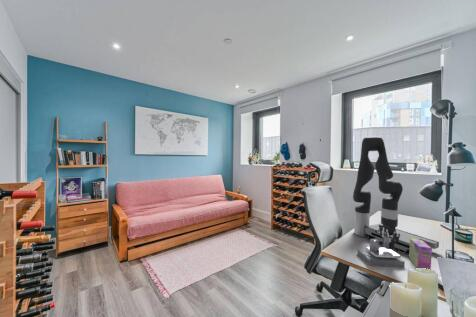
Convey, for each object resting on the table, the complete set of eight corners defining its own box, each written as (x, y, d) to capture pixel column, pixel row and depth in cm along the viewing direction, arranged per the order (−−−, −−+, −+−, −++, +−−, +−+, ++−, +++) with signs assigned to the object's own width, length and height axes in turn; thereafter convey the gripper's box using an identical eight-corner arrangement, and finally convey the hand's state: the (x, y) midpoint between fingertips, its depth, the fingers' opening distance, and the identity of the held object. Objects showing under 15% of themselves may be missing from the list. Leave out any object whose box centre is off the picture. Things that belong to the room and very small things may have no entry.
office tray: (421, 260, 113) (422, 246, 112) (364, 238, 142) (365, 227, 141) (438, 253, 122) (438, 240, 121) (381, 233, 150) (382, 223, 150)
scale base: (357, 254, 118) (357, 248, 118) (388, 255, 117) (388, 249, 117) (369, 265, 106) (369, 259, 106) (404, 267, 105) (404, 260, 105)
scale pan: (365, 249, 117) (366, 247, 117) (388, 249, 116) (388, 247, 116) (375, 257, 108) (375, 254, 108) (400, 258, 107) (400, 255, 107)
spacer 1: (368, 248, 114) (368, 238, 114) (375, 249, 114) (376, 238, 114) (372, 252, 110) (373, 242, 110) (380, 253, 110) (381, 242, 110)
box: (431, 270, 103) (432, 247, 103) (417, 267, 105) (418, 245, 105) (421, 260, 113) (422, 239, 112) (408, 258, 115) (409, 238, 114)
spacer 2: (381, 245, 114) (381, 235, 114) (389, 245, 114) (389, 235, 113) (386, 249, 109) (387, 238, 109) (395, 249, 109) (395, 238, 109)
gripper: (374, 212, 118) (373, 240, 119) (391, 220, 104) (390, 252, 105) (387, 213, 118) (386, 241, 118) (406, 221, 104) (405, 253, 104)
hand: (388, 246), depth 112 cm, fingers closed on spacer 2, 4 cm apart
